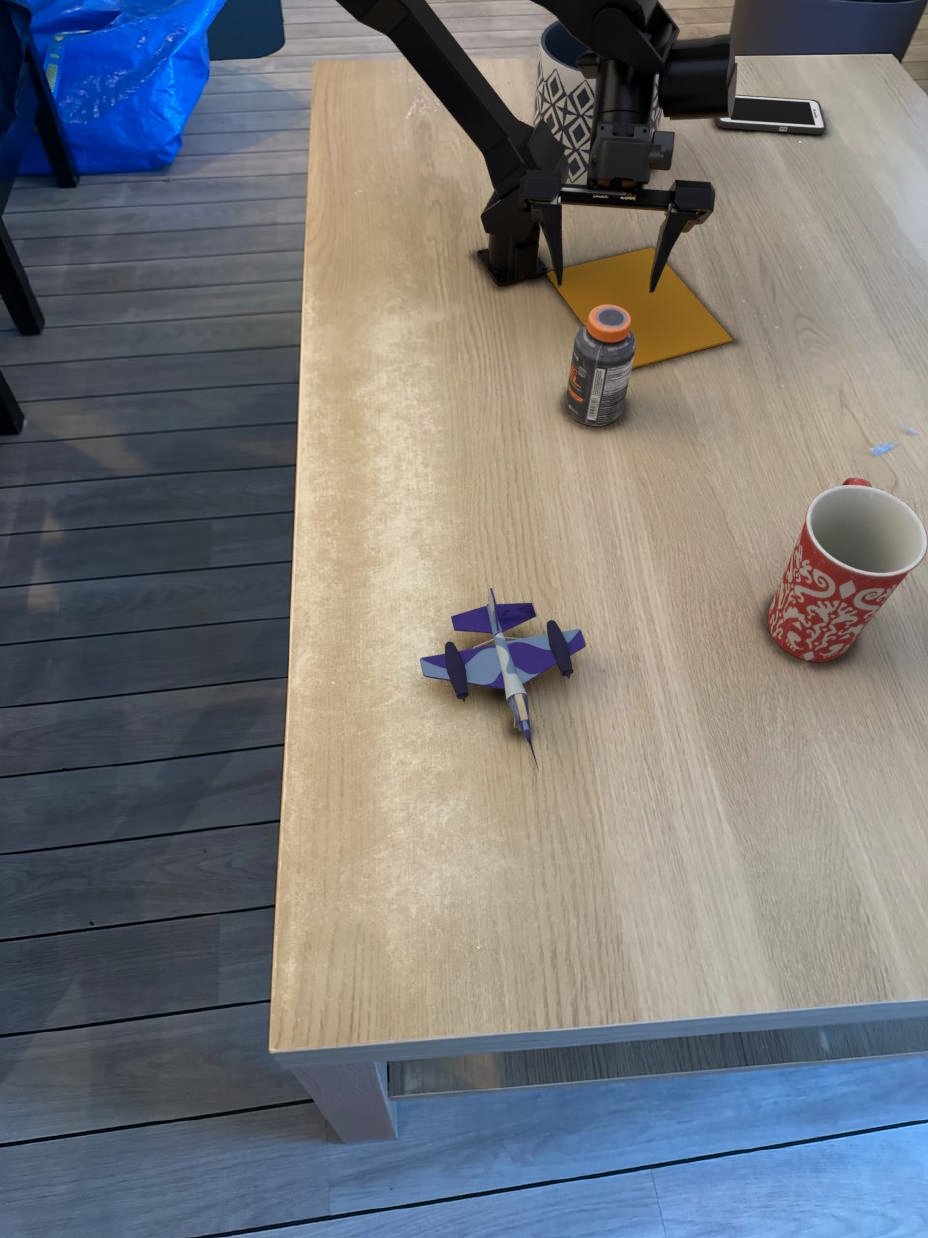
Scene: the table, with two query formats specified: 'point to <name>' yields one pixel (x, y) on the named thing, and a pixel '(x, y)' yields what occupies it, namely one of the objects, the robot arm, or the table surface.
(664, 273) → the cloth
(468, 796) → the table surface
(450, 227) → the table surface
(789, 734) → the table surface
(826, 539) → the mug
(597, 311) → the pill bottle
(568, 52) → the planter
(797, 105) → the cell phone
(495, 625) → the toy airplane
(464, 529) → the table surface
